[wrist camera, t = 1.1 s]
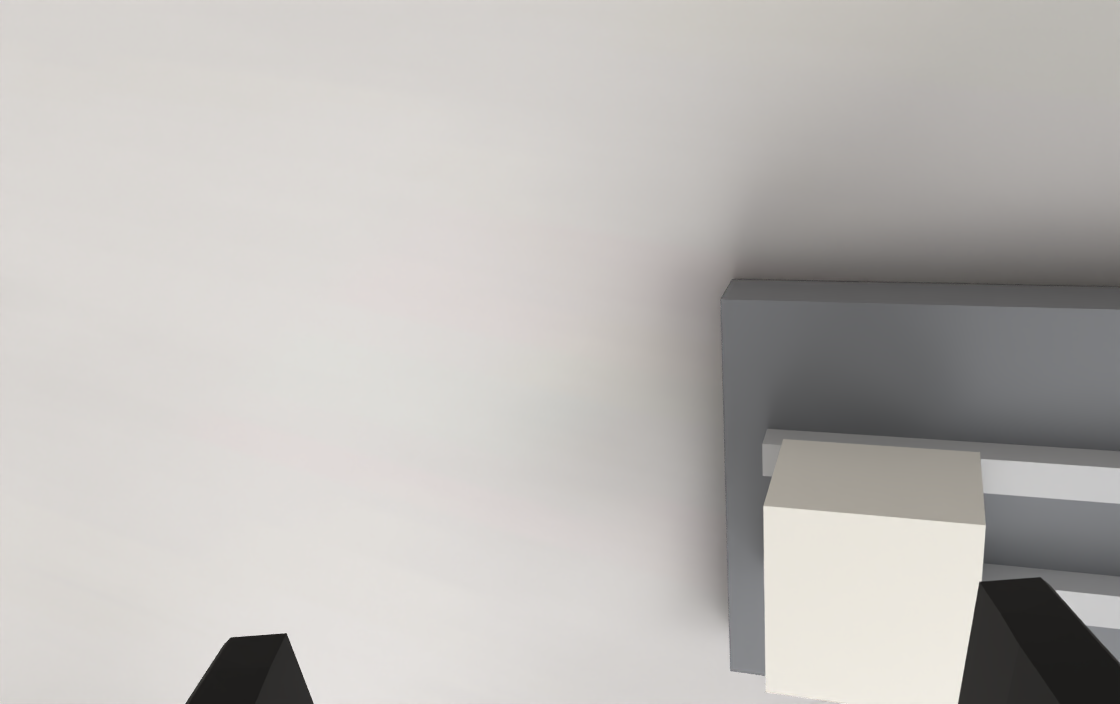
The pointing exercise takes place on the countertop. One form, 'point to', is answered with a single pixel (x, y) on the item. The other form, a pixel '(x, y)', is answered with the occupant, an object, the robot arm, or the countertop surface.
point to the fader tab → (871, 571)
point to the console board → (935, 418)
